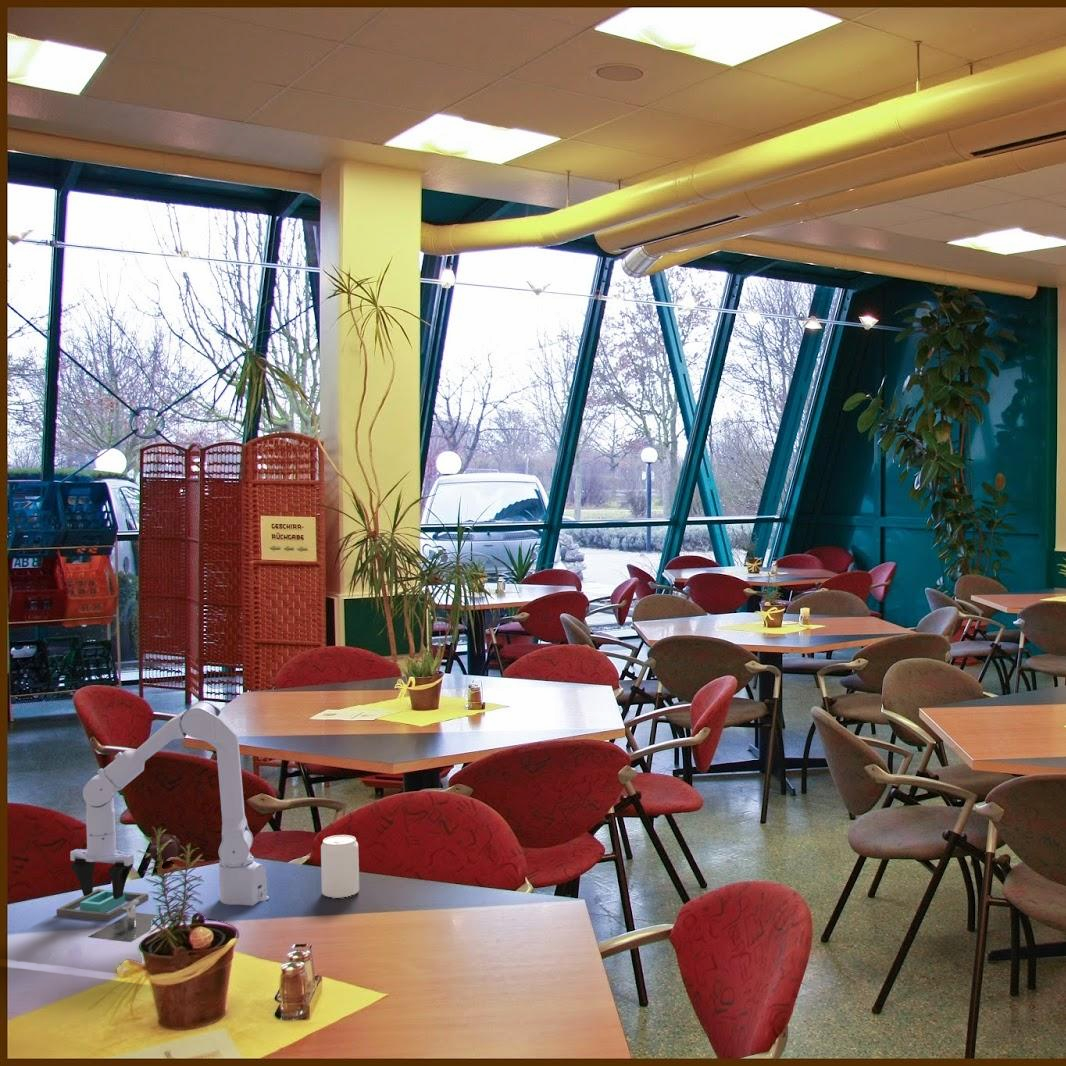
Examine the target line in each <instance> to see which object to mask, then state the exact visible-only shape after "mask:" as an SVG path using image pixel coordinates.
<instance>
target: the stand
mask: <svg viewBox="0 0 1066 1066" xmlns="http://www.w3.org/2000/svg"><path fill="white" fill-rule="evenodd" d="M130 901H131V902H130ZM130 901H128V902H129V903H128V902H127V903H128V904H126V903H125V904H126V905H124V904H123V905H124V906H123V909H126V910H127V912H126V915H125V916H123V917H122V918H119V919H117V920H116V921H114V922H112V923H110V924H108V925H107V926H104V927H103V928H101V929H99V930H97V931H96V932H94V933H92V934H91V935H89V936H87V938H90V939H91V938H93V939H99V940H111V941H119V942H126V943H132V942H133V941H136V940H137V939H139V938H140V937H142V936H144V935H145V934H147V933H149V932H150V931H151V930H150V929H151V927H152V926H151V920H152V919H153V918H158V915H159V914H153V913H152V914H151V913H145V912H144V913H143V912H142V913H141V912H136V907H135V905H136V904H138V903H139V900H133V901H132V900H130ZM155 916H157V917H155Z"/></svg>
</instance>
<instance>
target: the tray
mask: <svg viewBox="0 0 1066 1066" xmlns="http://www.w3.org/2000/svg"><path fill="white" fill-rule="evenodd" d="M104 890H105V889H102V888H97V889H95V890H93V892H92V893H91V894H89V895H87V896H84V895H83V896H81V897H78V898H76V899H75V900H72V901H70V902H69V903H67V904H65V905H63V906H60V907H59V908H57V909H56V911H55V912H56V916H58V917H68V918H78V919H86V920H94V921H96V920H97V921H105V922H110V921H112V920H114V919H116V918H118V917H120V916H121V915H123V914H125V913H127V910H126V909H123V906H124V905H126V904H128V903H129V902H131V901H133V900H139V903H138V904H136V905H135V908H136V907H138V906H141V904H144V903H146V902H147V901H149V893H141V892H134V891H133V892H131V891H124V892H125V900H128V902H125V903H123V904H121V906H120V905H119V906H117V907H116V908H114V909H112V910H110V911H108V912H106V913H104V912H94V911H85V910H80V909H78V908H79V907H80V902H82V901H84V900H86V899H88V898H90V897H92V896H94V895H96V894H98V893H100V892H102V891H104ZM111 890H112V891H113V889H111ZM129 900H130V901H129Z"/></svg>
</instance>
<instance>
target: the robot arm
mask: <svg viewBox="0 0 1066 1066" xmlns="http://www.w3.org/2000/svg"><path fill="white" fill-rule="evenodd" d="M186 736H189V737H191V738H194V739H196V740H201V741H204V742H206V743H207V744H209V745H210V746H212V747H213V748H215V751H216V761H217V771H218V784H219V795H220V796H219V799H220V810H221V823H222V824H221V842H220V845H219V848H218V856H219V862H218V865H219V866H218V867H219V868H218V869H219V899H220V900H219V901H220V903H222V904H224V905H235V906H237V905H243V906H255V905H256V904H257V903H259V902H266V901H267V900H269V898H270V897H269V896H268V884H267V882H268V881H267V876H268V875H267V868H266V867H265V865H264V864H262V863H259V862H256V861H255V857H254V856H253V855H252V853H251V852H250V850H251V848H252V846H253V843H254V835H253V833H252V832H251V830H250V829H249V825H248V820H247V817H246V812H245V800H244V791H243V790H244V789H243V777H242V766H241V765H242V763H241V753H240V743H239V742H240V740H239V734H238V732H237V730H236V729H235V728H234V726H233V725H232V724H231V723H230V722H229V720H228V719H227V718H226V717H225V715H224V713H223V711H222V709H221V708H220V707H218V706H216V705H214V704H213V703H211V702H210V701H205V700H199V701H197V702H195V703H193V704H192V705H191V706H190V707H189V709H184V710H183V711H181V712H179V714H177V715H175V716H174V717H172V718H171V719H170V720H168V721H167V722H166V723H165V724H164V725H162V727H160V728H159V729H158V730H156V732H155V733H154V734H152V735H151V736H150V737H149V738H148V739H147V740H146V741H145V742H143V743H142V744H140V746H139V747H138V748H137V749H134V750H133V749H132V750H131V749H130V750H129V749H128V750H127V749H125V751H123V752H122V751H119V752H118V753H117V754H115V755H114V758H115V759H114V760H113V761H111V762H110V763H108V764H107V765H106V766H105V767H104V768H103V767H102V768H100V769H98V770H97V774H96V775H94V776H93V777H92V778H91V779H89V780H88V781H87V783H86V784H85V786H84V787H83V790H82V797H83V798H82V799H83V800H84V801H85V803H86V805H85V806H86V812H85V816H86V817H85V819H86V820H85V823H86V824H85V825H86V848H85V849H82V848H80V849H79V848H76V849H74V850H71V851H70V853H69V854H70V855H69V856H70V859H69V860H70V861H71V862H73V863H72V864H71V865H70V869H71V870H72V872H73V873H74V875H75V877H76V878H77V880H78V883H79V885H80V888H81V892H82V895H83V896H87V895H89V894H91V893H92V892H93V891H94V870H95V865H96V863H103V864H104V863H105V864H114V865H113V866H110V867H108V870H107V871H108V873H109V876H110V878H111V883H112V890H113V897H114V899H118V898H120V897H122V896H123V892H125V890H124V889H125V886H126V883H127V880H128V877H129V874H130V872H131V871H132V869H133V867H134V863H135V861H134V860H135V857H134V853H128V852H124V851H121V850H117V838H116V836H117V835H116V809H115V797H114V796H115V795H116V794H117V792H118V791H119V792H120V791H121V790H123V789H124V788H125V787H126V786H127V785H128V784H129V783H131V782H132V781H133V780H134V779H136V777H138V776H139V775H140V774H141V773H143V772H144V771H145V763H146V761H147V760H149V759H150V758H151V757H152V756H154V755H155V754H156V753H157V752H159V751H160V750H162V748H163V747H165V746H166V745H168V743H170V742H171V741H173V740H180V739H185V738H186Z"/></svg>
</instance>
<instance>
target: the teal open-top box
mask: <svg viewBox="0 0 1066 1066" xmlns="http://www.w3.org/2000/svg"><path fill="white" fill-rule="evenodd" d="M103 890H104V891H102V892H100V893H98V894H96V895H94V896H92V897H90V898H88V899H86V900H84V901H82V902H80V906H79V907H80V908H79V910H85V911H94V912H104V913H108V912H110V911H112V910H114V909H116V908H118V907H120V905H121V906H122V905H124V904H126V899H125V892H126V891H123V896H122V897H120V898H118V899H114V897H113V891H112V890H113V889H111V890H110V889H103Z"/></svg>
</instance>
